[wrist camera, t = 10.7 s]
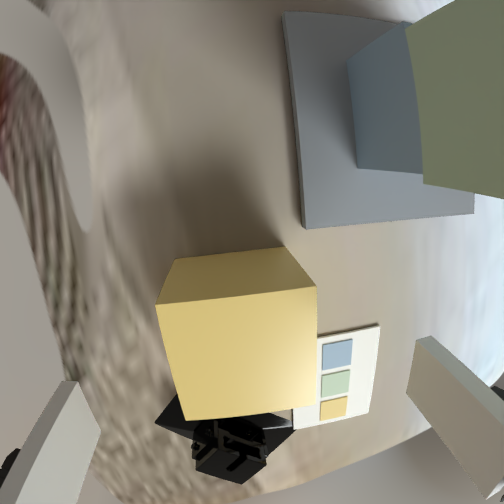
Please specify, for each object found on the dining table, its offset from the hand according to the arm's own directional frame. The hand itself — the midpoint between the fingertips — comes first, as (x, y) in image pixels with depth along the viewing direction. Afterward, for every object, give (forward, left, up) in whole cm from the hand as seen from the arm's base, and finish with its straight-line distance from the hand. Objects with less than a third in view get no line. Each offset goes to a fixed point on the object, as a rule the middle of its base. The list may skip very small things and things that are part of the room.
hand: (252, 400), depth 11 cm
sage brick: (-10, +10, -1) cm, 14 cm away
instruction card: (+7, +6, -8) cm, 12 cm away
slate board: (-10, +10, -8) cm, 16 cm away
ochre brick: (0, 0, -8) cm, 8 cm away
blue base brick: (-10, +10, -7) cm, 16 cm away
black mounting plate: (+10, -2, -9) cm, 13 cm away
